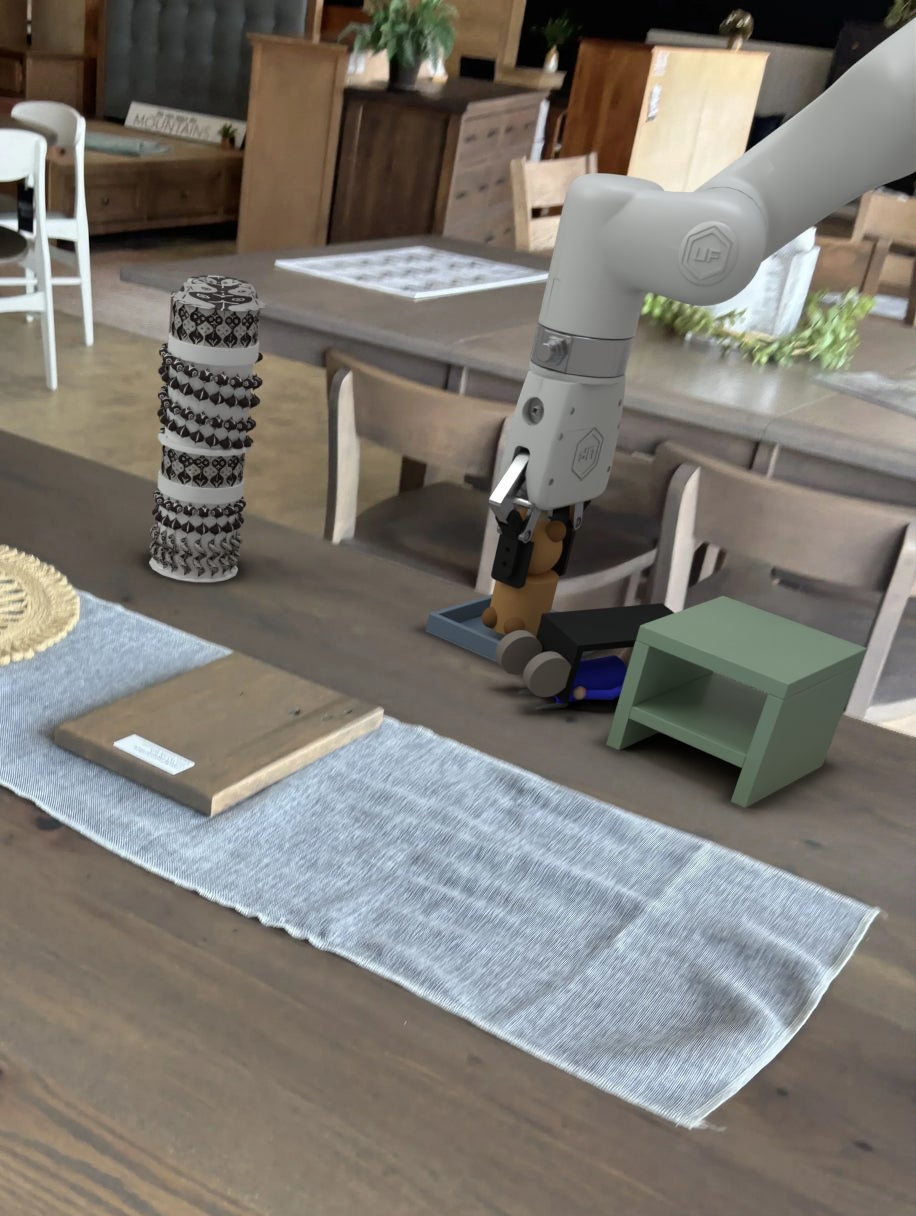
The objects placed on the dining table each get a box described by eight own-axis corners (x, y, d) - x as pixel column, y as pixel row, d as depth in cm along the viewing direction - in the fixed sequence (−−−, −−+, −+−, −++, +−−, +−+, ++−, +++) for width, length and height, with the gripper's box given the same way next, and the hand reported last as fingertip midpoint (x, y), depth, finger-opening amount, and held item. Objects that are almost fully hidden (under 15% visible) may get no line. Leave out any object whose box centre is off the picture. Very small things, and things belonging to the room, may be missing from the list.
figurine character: (525, 741, 112) (689, 710, 116) (537, 652, 108) (707, 623, 111) (486, 704, 117) (643, 676, 121) (496, 618, 113) (659, 592, 116)
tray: (500, 610, 132) (505, 589, 131) (601, 652, 126) (607, 631, 124) (424, 634, 125) (428, 612, 124) (526, 679, 119) (532, 657, 118)
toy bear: (509, 611, 128) (535, 502, 122) (557, 631, 125) (585, 519, 119) (471, 623, 124) (495, 511, 118) (518, 644, 121) (545, 530, 116)
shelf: (686, 712, 116) (723, 595, 111) (821, 769, 110) (868, 648, 104) (604, 747, 109) (639, 625, 103) (743, 811, 102) (789, 684, 97)
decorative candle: (143, 549, 137) (163, 266, 123) (238, 556, 138) (269, 275, 123) (144, 582, 129) (165, 285, 115) (244, 590, 130) (277, 295, 116)
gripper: (556, 375, 104) (503, 610, 115) (678, 356, 114) (619, 574, 125) (476, 351, 109) (431, 580, 119) (600, 335, 119) (549, 547, 129)
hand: (528, 575), depth 122 cm, fingers closed on toy bear, 5 cm apart
